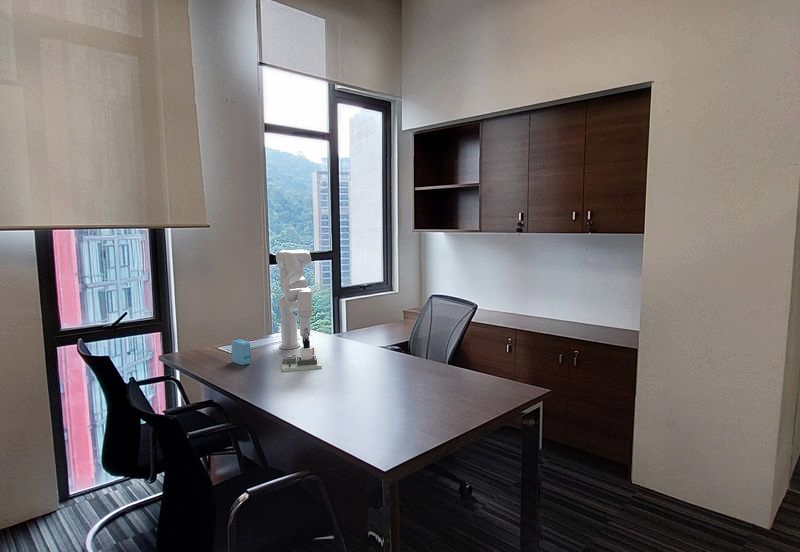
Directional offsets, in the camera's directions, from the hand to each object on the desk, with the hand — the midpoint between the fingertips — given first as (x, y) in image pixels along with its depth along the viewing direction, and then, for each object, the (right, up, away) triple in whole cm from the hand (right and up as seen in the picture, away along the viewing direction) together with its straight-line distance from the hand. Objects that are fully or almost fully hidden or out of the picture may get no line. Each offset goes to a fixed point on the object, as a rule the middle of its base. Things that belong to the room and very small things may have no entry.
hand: (306, 345), depth 251 cm
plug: (0, -9, +1) cm, 9 cm away
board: (-3, -11, +1) cm, 11 cm away
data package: (-37, -11, +8) cm, 39 cm away
